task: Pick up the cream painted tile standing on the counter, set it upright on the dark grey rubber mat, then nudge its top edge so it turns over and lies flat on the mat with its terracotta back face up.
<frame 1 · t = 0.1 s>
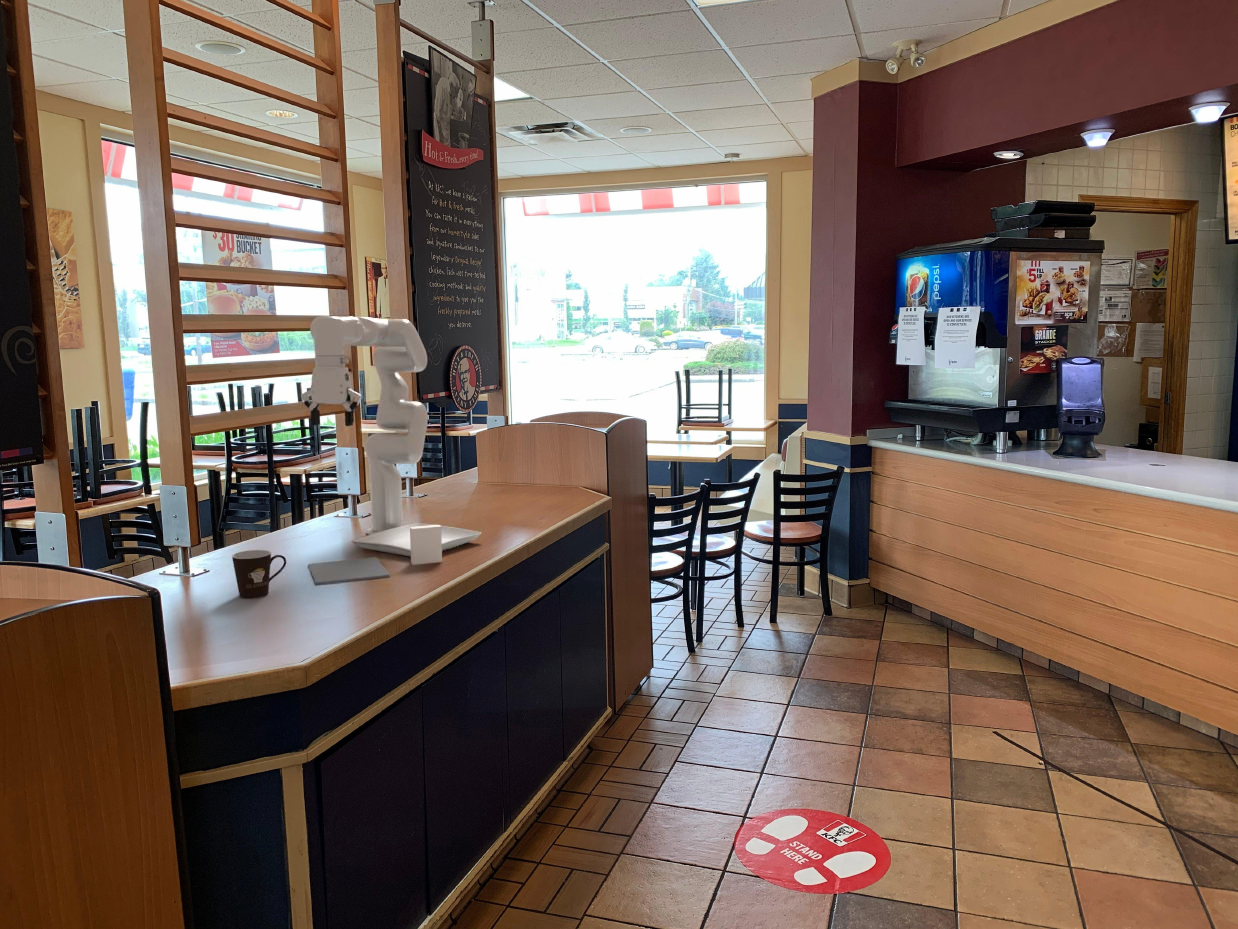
hand: (332, 425, 240), 37 cm above the counter, tool pointing down, fingers open, 9 cm apart
mat: (348, 571, 231), on the counter
square plate: (418, 548, 260), on the counter
tile: (426, 562, 241), on the counter
coffee mug: (260, 595, 210), on the counter
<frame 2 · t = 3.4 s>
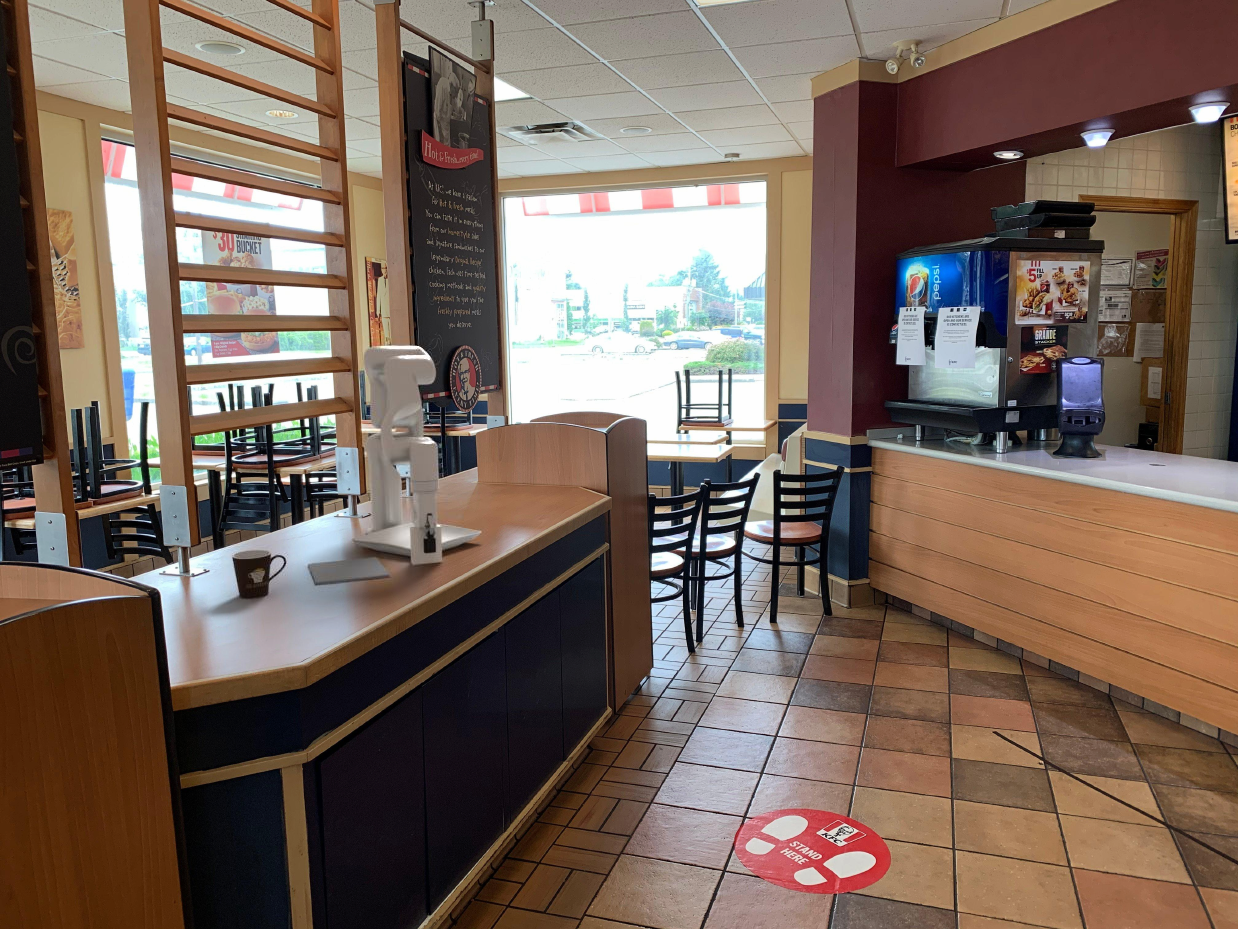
hand: (426, 549, 240), 4 cm above the counter, tool pointing down, fingers open, 7 cm apart
square plate: (418, 546, 260), on the counter, touching gripper
everything else where it was.
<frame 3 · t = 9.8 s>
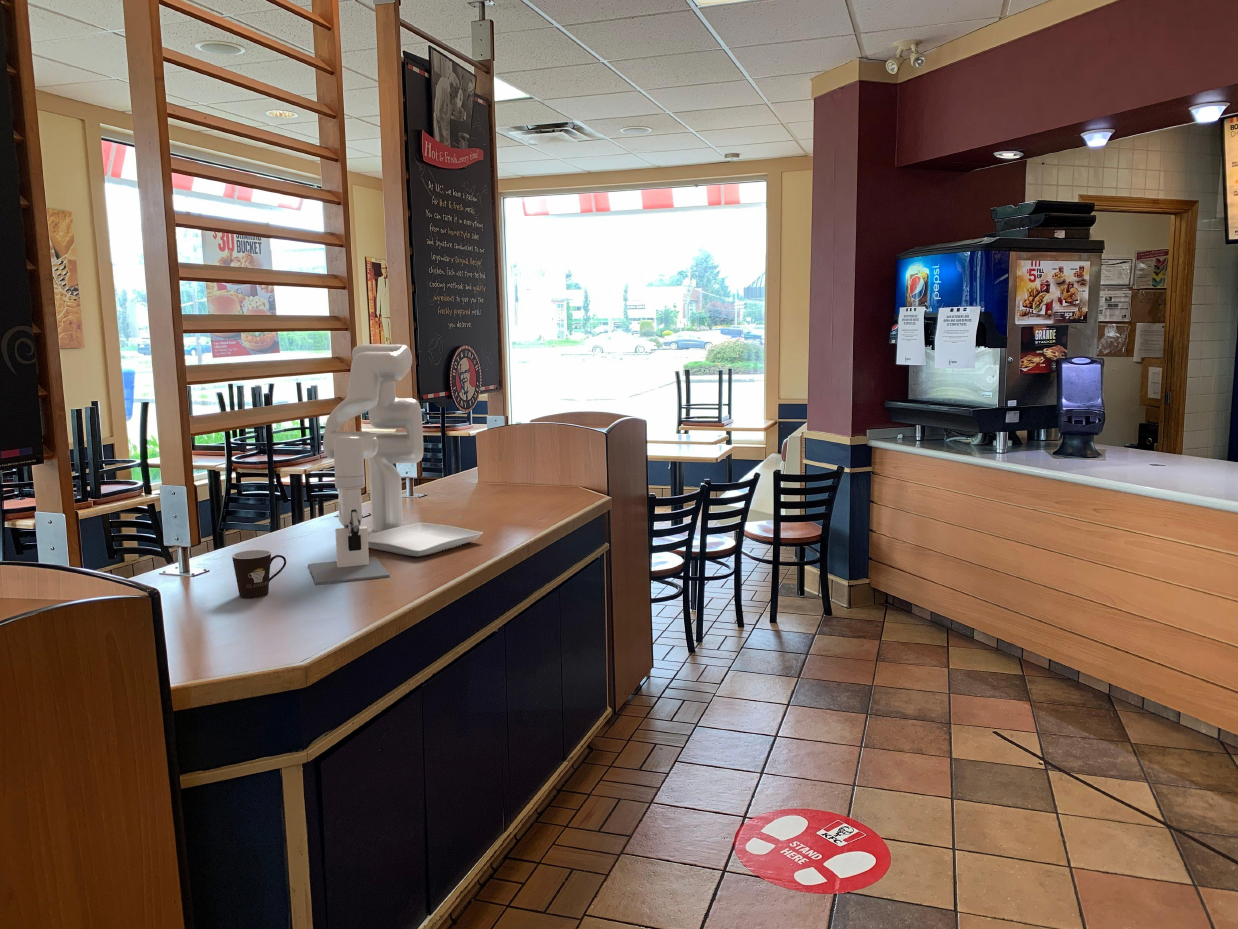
hand: (352, 546, 235), 6 cm above the counter, tool pointing down, fingers open, 7 cm apart
square plate: (419, 547, 260), on the counter
tile: (353, 564, 235), point 1 cm above the counter, touching mat
everything else where it was.
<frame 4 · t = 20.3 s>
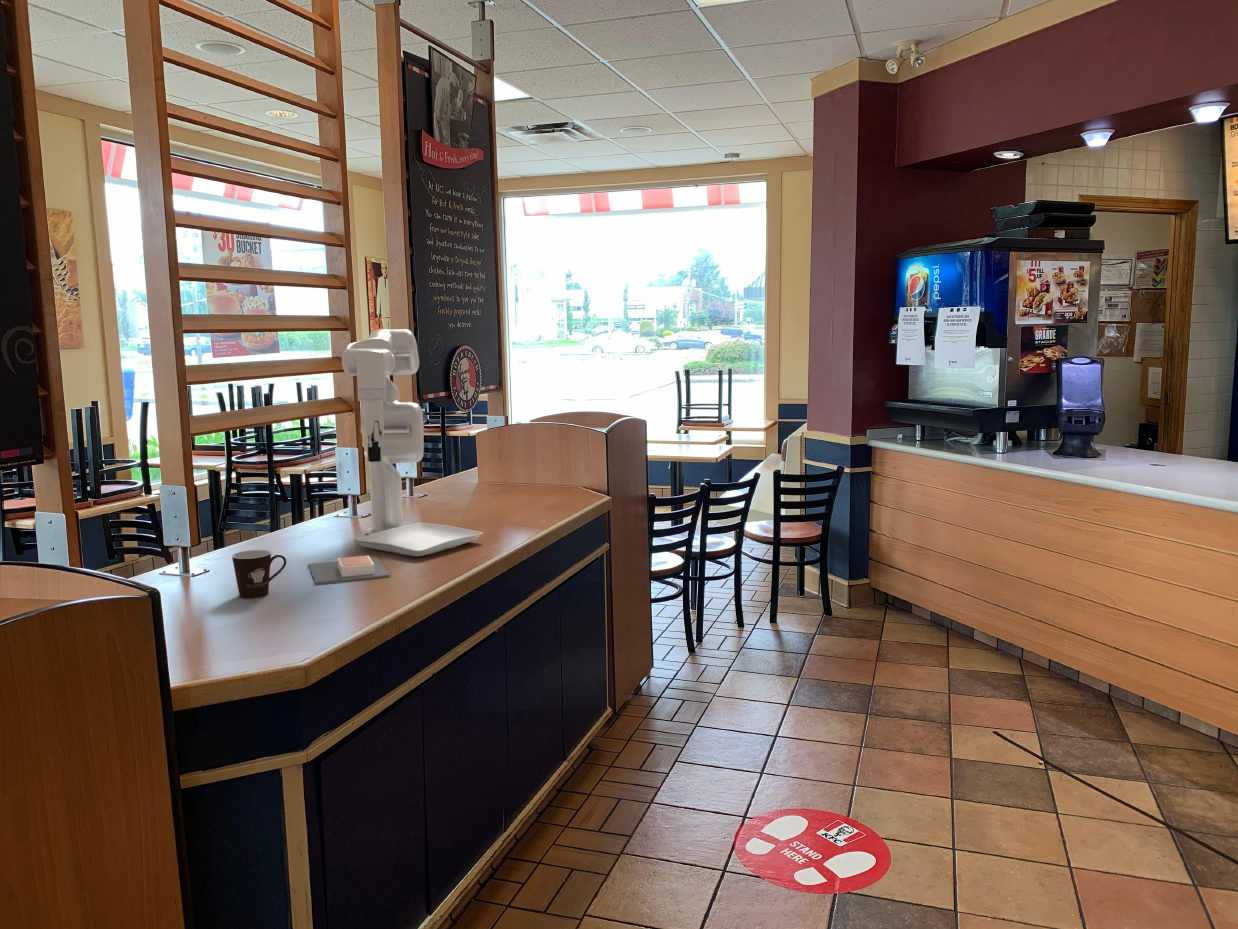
hand: (374, 461, 243), 27 cm above the counter, tool pointing down, fingers closed
tile: (353, 561, 234), point 2 cm above the counter, tilted 90°, touching mat
everything else where it was.
at the end: tile tilted 90°; tile inside the target area (0.2 cm from its centre), point 1.8 cm above the counter; the gripper is holding nothing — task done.
